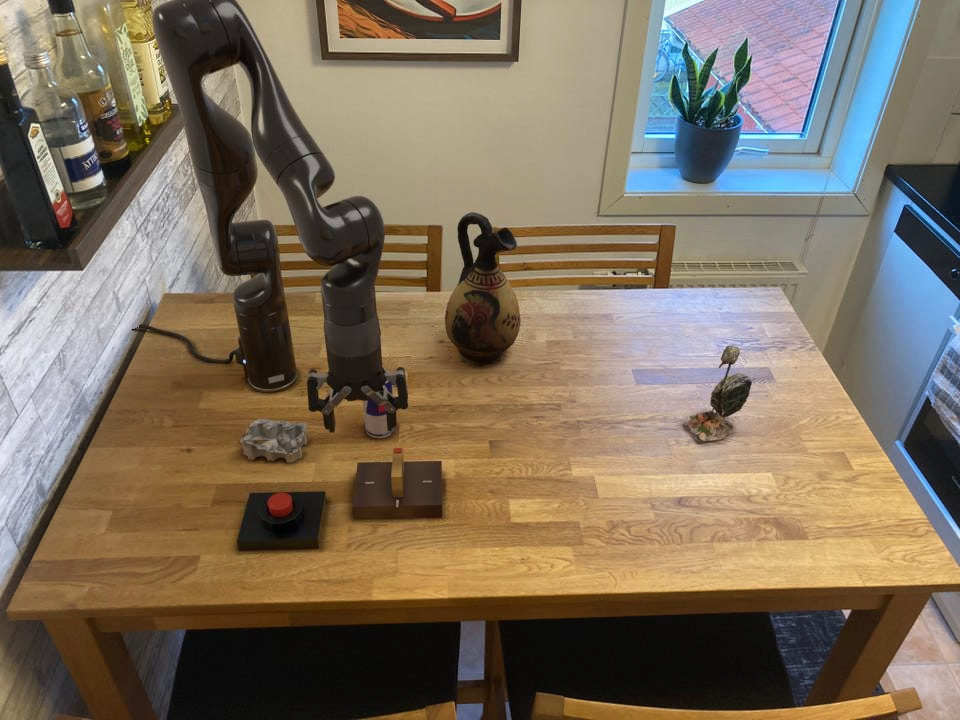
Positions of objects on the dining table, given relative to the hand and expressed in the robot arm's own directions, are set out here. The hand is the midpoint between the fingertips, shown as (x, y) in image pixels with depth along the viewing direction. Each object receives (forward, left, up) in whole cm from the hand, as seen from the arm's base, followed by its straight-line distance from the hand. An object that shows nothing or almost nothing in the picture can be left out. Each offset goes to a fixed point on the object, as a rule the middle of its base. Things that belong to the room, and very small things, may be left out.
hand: (361, 428), depth 113 cm
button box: (-8, -11, -16) cm, 21 cm away
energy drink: (-10, +15, -16) cm, 24 cm away
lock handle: (+3, +4, -13) cm, 14 cm away
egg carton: (-22, +1, -16) cm, 27 cm away
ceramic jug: (-9, +46, -16) cm, 49 cm away
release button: (-8, -11, -12) cm, 18 cm away
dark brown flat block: (+3, +4, -16) cm, 17 cm away
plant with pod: (+40, +50, -16) cm, 66 cm away
